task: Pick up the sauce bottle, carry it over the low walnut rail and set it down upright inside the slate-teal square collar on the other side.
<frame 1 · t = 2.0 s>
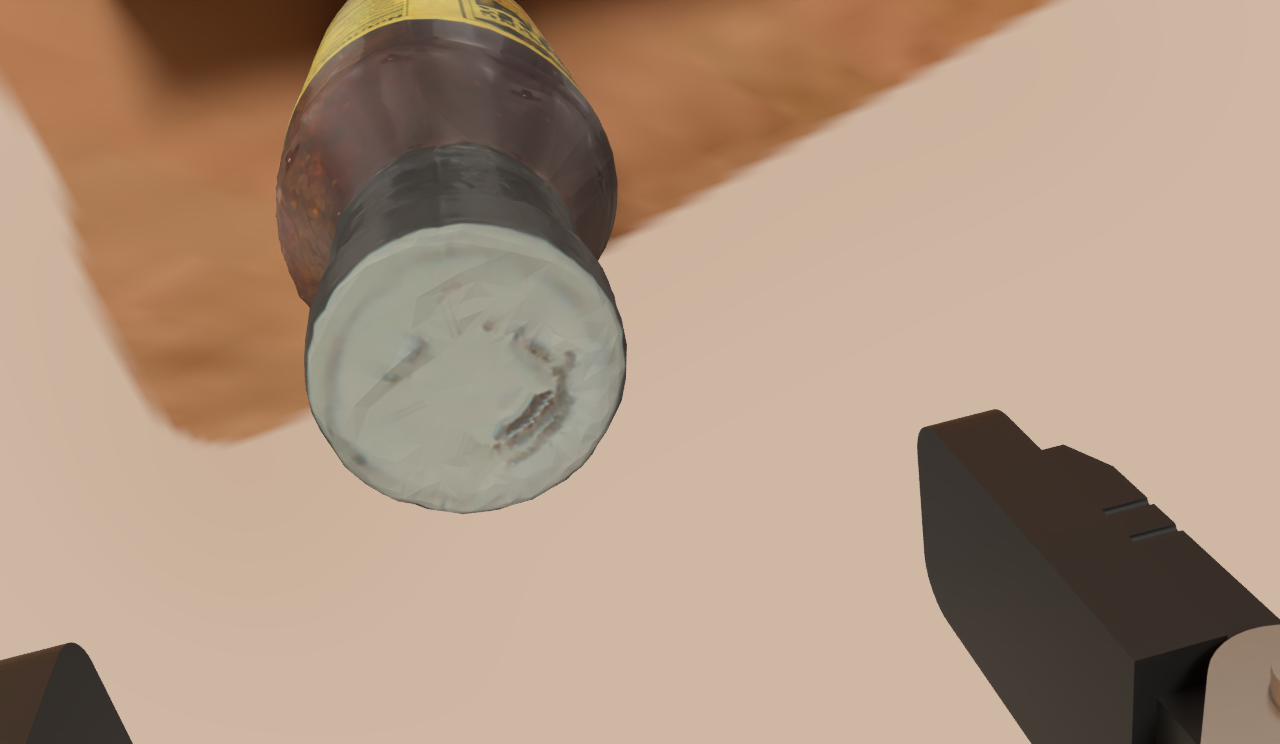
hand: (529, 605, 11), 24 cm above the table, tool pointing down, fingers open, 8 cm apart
sauce bottle: (430, 71, 33), on the table
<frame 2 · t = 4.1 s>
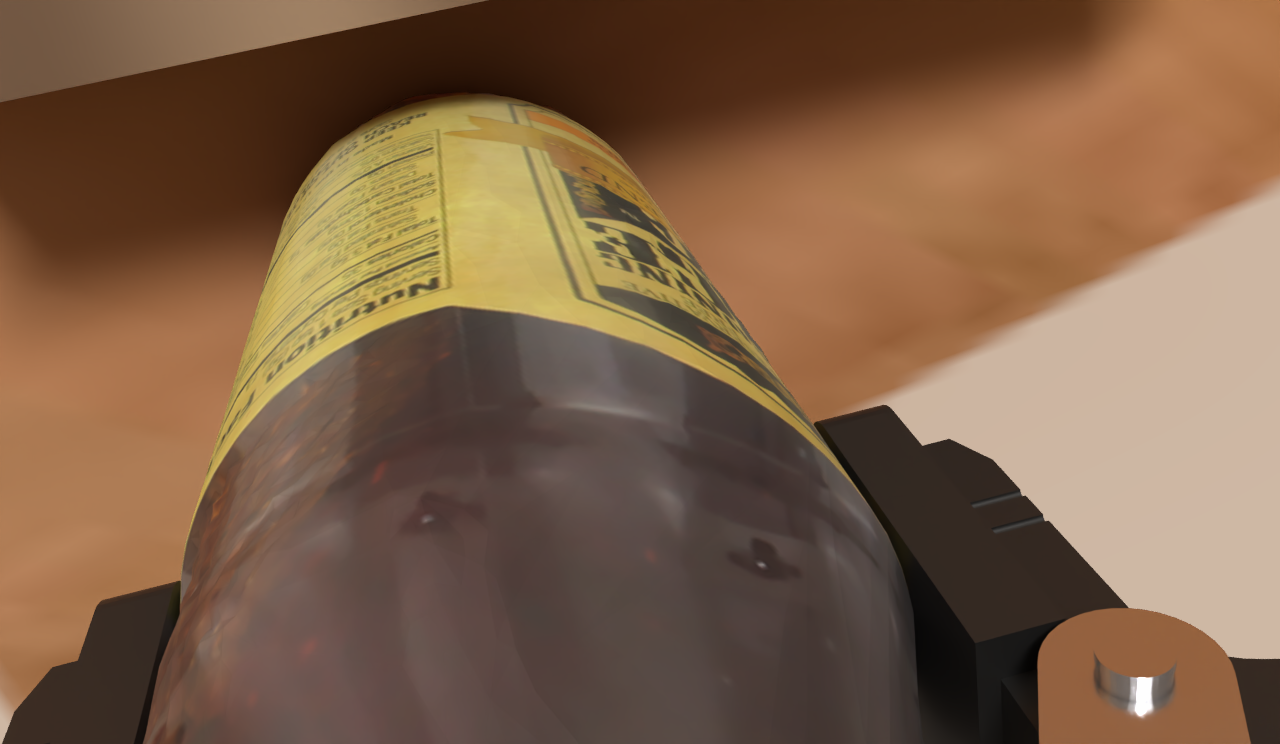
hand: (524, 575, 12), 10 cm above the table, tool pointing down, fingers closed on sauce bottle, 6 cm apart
sauce bottle: (463, 240, 20), on the table, touching gripper
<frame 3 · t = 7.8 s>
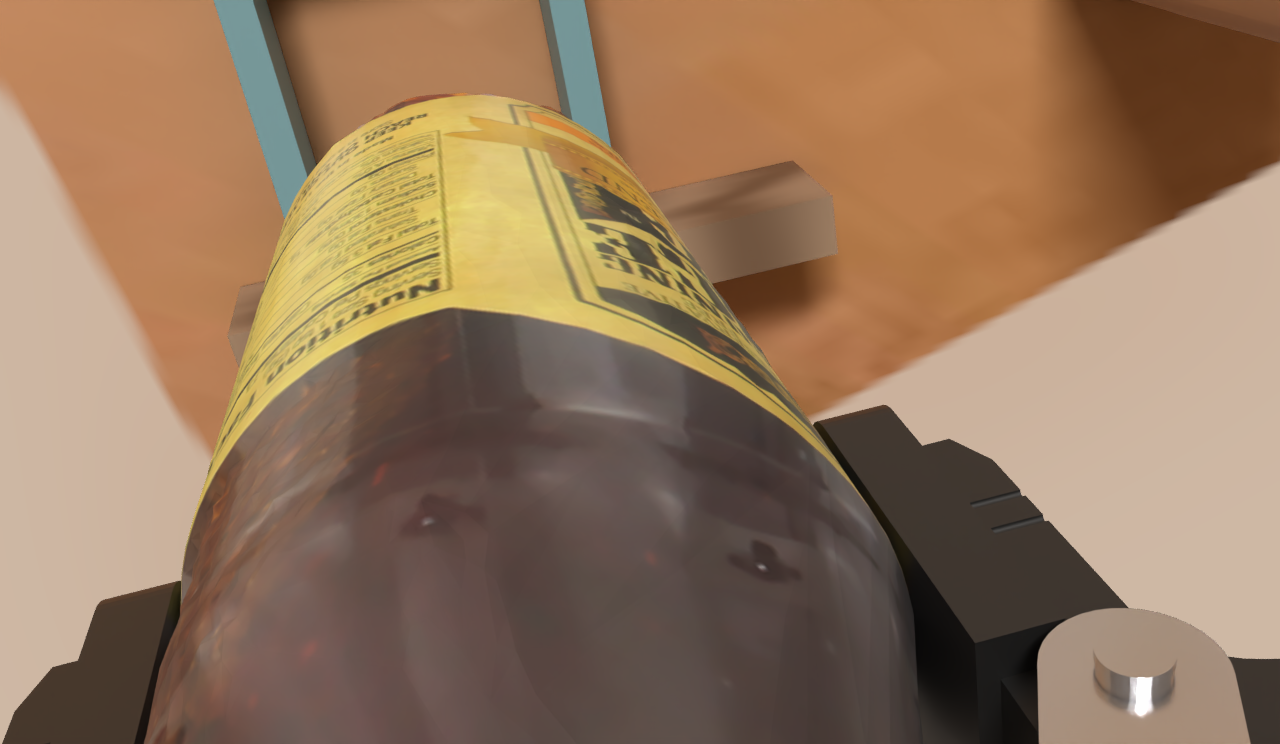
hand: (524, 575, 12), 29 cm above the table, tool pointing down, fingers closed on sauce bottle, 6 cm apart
sauce bottle: (463, 241, 20), point 19 cm above the table, touching gripper
square collar: (416, 41, 37), on the table
walnut rail: (529, 249, 41), on the table
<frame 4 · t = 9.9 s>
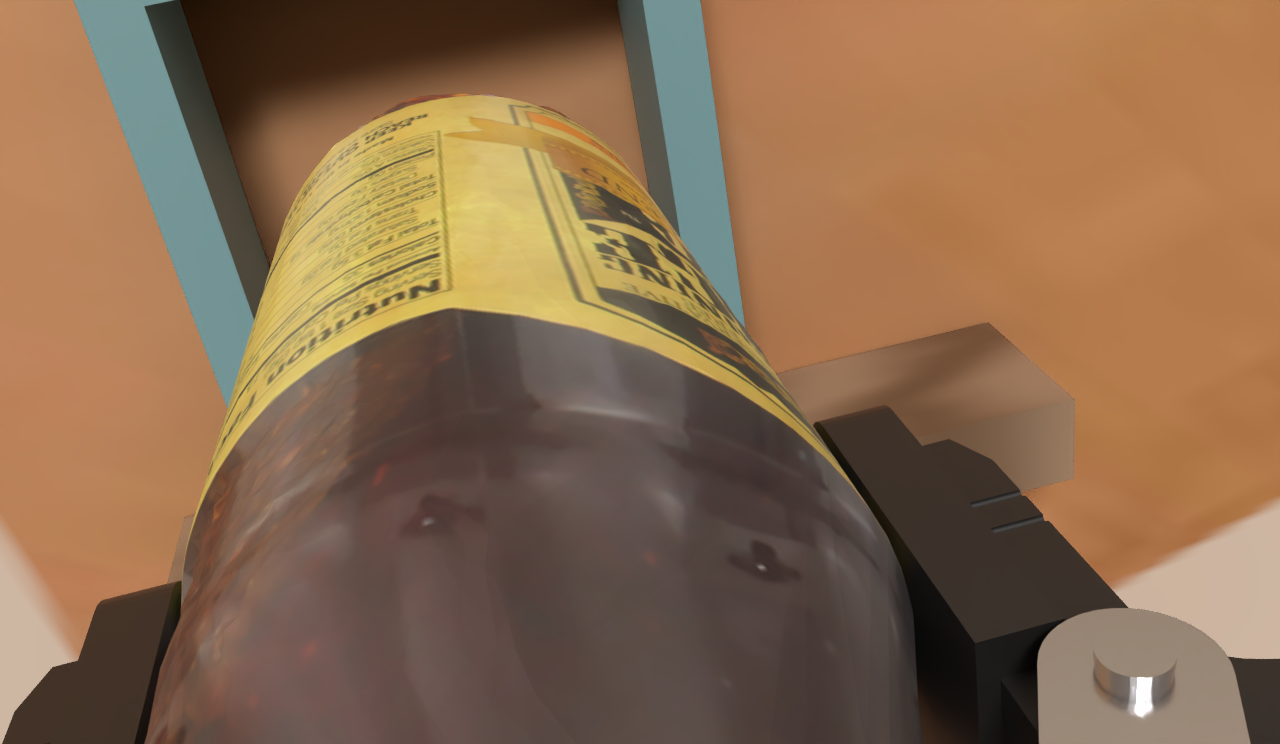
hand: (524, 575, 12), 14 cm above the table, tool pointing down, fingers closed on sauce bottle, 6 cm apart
sauce bottle: (464, 241, 21), point 4 cm above the table, touching gripper
square collar: (447, 166, 24), on the table
walnut rail: (607, 453, 28), on the table
when the fingers open (11 cm above the table, at t = 11.5 s): sauce bottle drops 1 cm, resting in square collar.
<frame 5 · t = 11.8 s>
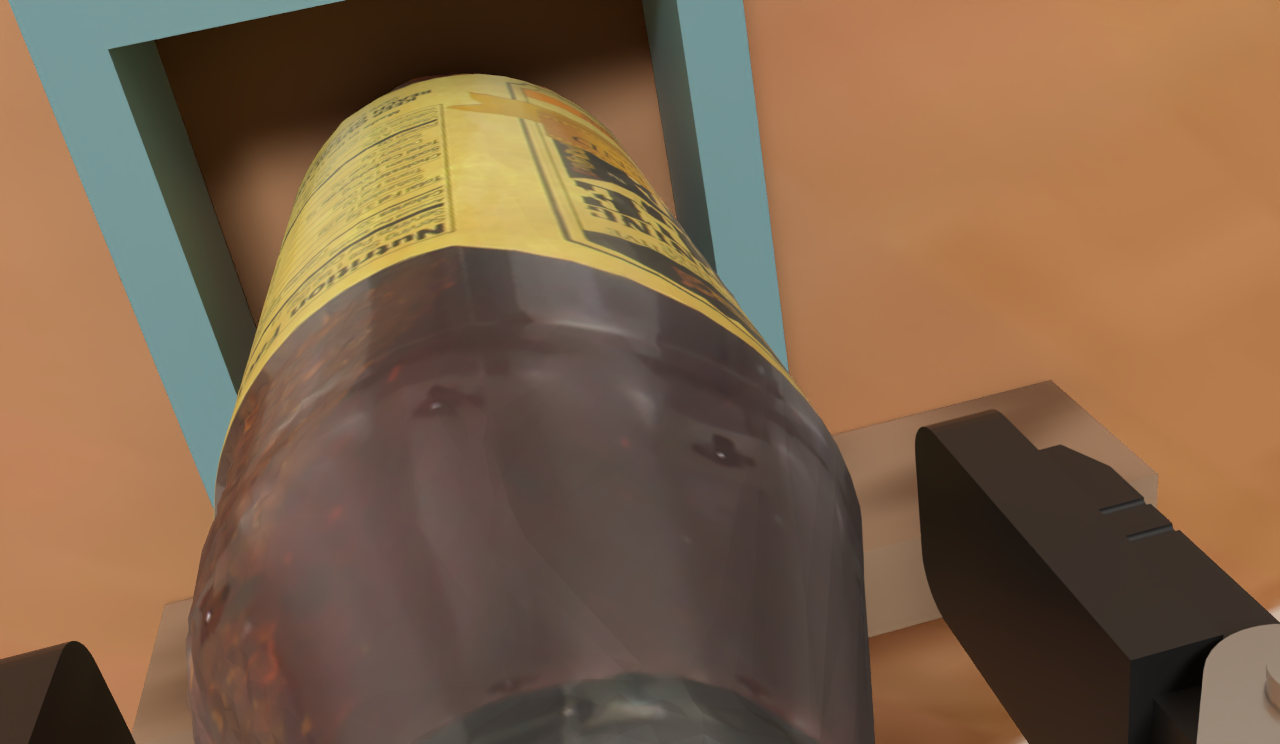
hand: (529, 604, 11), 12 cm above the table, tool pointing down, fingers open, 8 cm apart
sauce bottle: (464, 214, 22), resting in square collar
square collar: (456, 218, 22), on the table
walnut rail: (632, 527, 25), on the table
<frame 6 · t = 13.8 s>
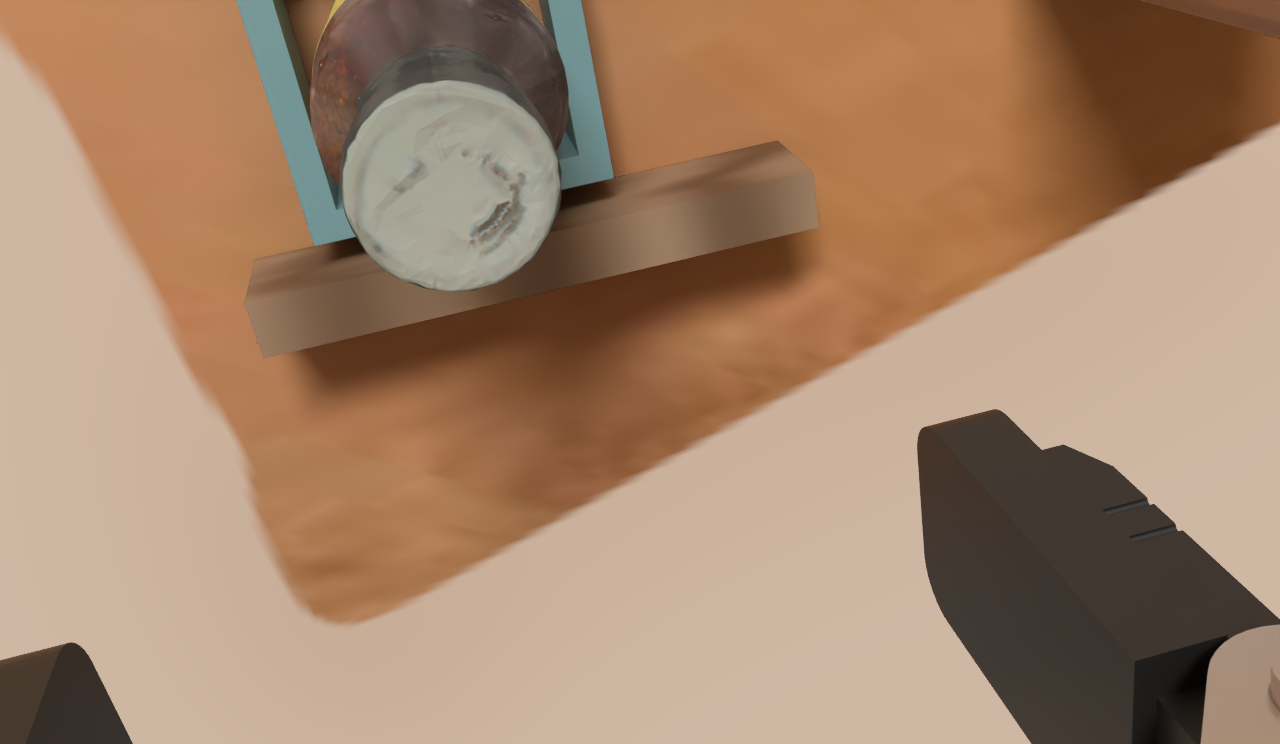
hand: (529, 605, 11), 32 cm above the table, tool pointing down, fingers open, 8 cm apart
sauce bottle: (425, 25, 39), resting in square collar
square collar: (420, 26, 39), on the table
walnut rail: (528, 225, 43), on the table
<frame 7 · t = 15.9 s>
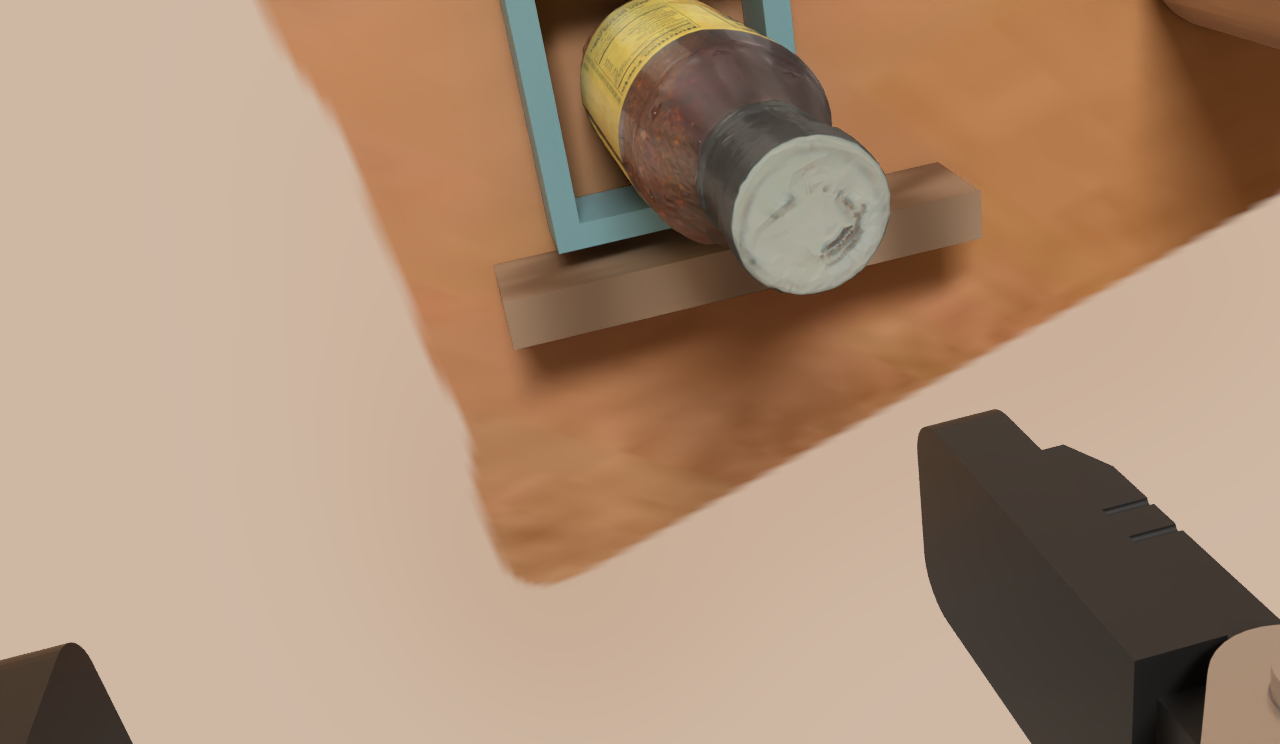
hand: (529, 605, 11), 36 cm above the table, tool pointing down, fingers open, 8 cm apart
sauce bottle: (650, 65, 46), resting in square collar
square collar: (647, 66, 46), on the table
walnut rail: (723, 235, 50), on the table
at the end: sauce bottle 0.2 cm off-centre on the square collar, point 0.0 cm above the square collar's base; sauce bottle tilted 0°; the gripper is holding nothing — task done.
